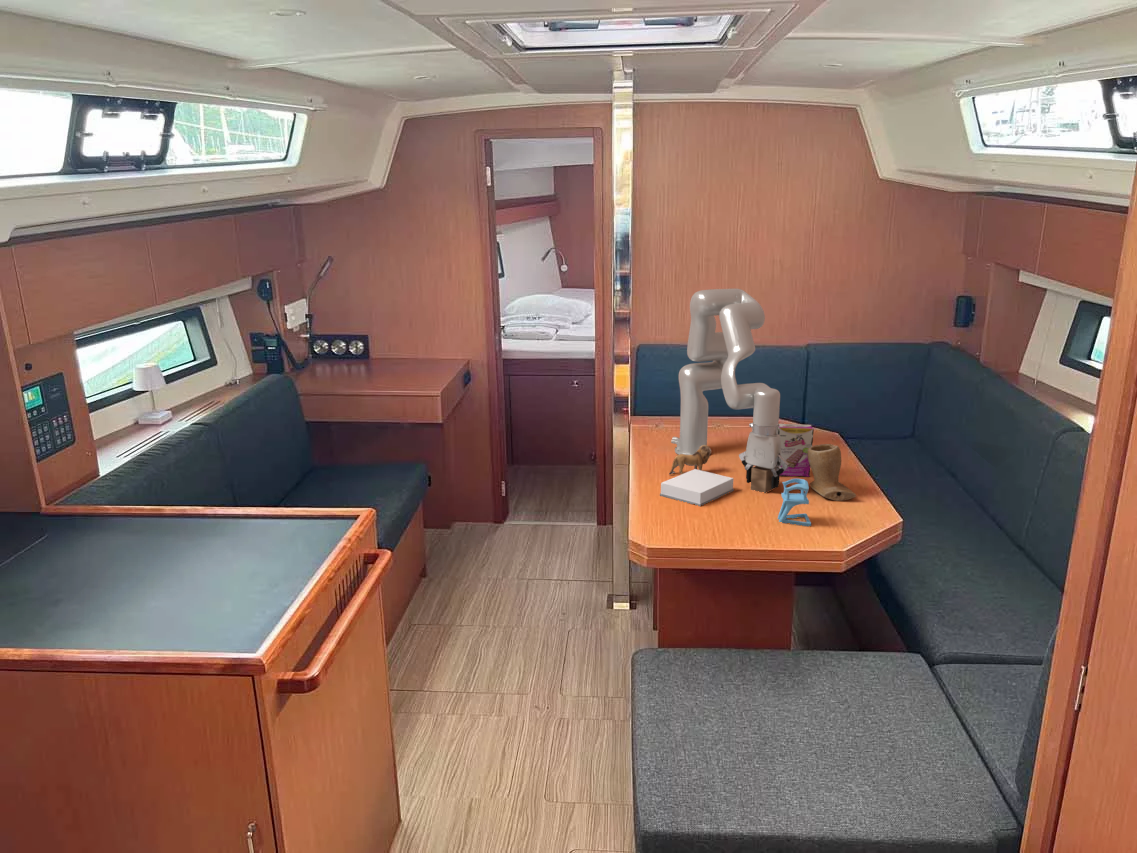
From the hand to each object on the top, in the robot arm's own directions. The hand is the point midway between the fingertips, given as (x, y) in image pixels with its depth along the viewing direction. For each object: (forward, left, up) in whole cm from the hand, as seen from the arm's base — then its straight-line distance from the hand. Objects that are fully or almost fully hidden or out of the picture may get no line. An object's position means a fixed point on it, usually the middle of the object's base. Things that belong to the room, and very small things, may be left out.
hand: (762, 484), depth 262 cm
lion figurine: (-26, -1, -2) cm, 26 cm away
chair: (+20, -18, -2) cm, 27 cm away
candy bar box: (0, +19, -2) cm, 19 cm away
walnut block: (0, 0, -2) cm, 2 cm away
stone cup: (+17, +9, -2) cm, 19 cm away
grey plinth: (-13, -16, -2) cm, 21 cm away
